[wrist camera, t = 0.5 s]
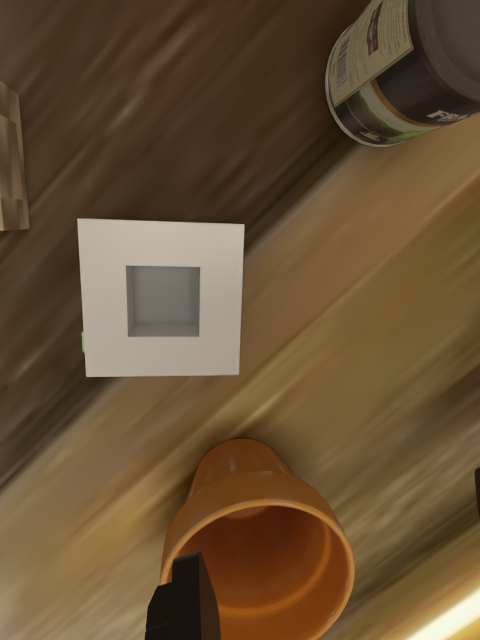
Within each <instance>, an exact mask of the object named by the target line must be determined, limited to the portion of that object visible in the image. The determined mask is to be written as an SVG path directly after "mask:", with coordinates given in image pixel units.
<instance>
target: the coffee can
mask: <svg viewBox="0 0 480 640" xmlns="http://www.w3.org/2000/svg"><path fill="white" fill-rule="evenodd" d="M325 92H326V98H327V102H328V106H329V109H330V112H331V114H332V115H333V117H334V120H335V121H336V123H337V124H338V125H339V127H340V128H341V129H342V130H343V131H344V132H345V133H346V134H347V135H348V136H349V137H350V138H352V139H354V140H355V141H357V142H359V143H361V144H364V145H367V146H372V147H388V146H393V145H396V144H399V143H402V142H404V141H406V140H408V139H410V138H413V137H415V136H418V135H421V134H423V133H426V132H429V131H432V130H435V129H437V128H440V127H443V126H446V125H449V124H452V123H455V122H458V121H460V120H463V119H465V118H468V117H471V116H473V115H476V114H479V113H480V0H372V1H371V2H370V3H369V5H368V6H367V7H366V8H365V9H364V10H363V12H362V13H361V14H360V15H359V16H358V18H357V19H356V20H355V21H354V22H353V23H352V24H351V25H350V26H349V27H348V28H347V29H346V30H345V31H344V32H343V33H342V34H341V36H340V37H339V38H338V40H337V42H336V43H335V45H334V47H333V49H332V51H331V54H330V55H329V59H328V63H327V68H326V75H325Z"/></svg>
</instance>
